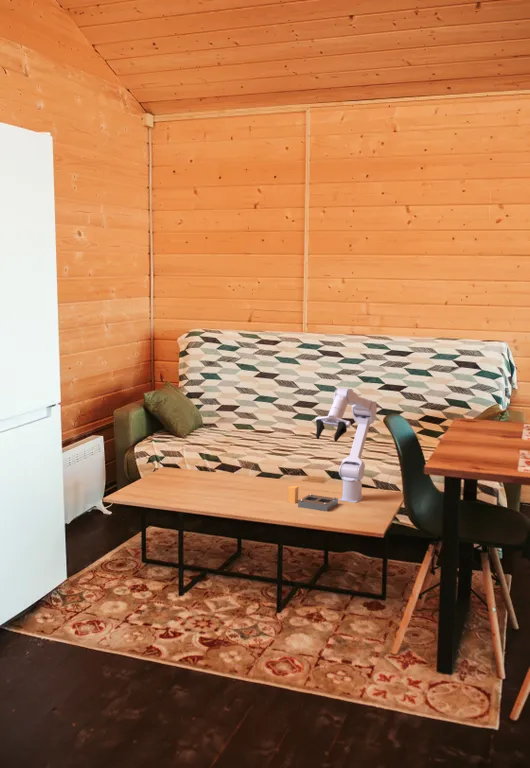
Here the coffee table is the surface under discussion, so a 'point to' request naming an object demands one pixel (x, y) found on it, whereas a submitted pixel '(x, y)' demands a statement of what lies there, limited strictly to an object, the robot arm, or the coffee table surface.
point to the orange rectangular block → (293, 494)
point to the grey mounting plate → (318, 502)
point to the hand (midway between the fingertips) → (326, 438)
